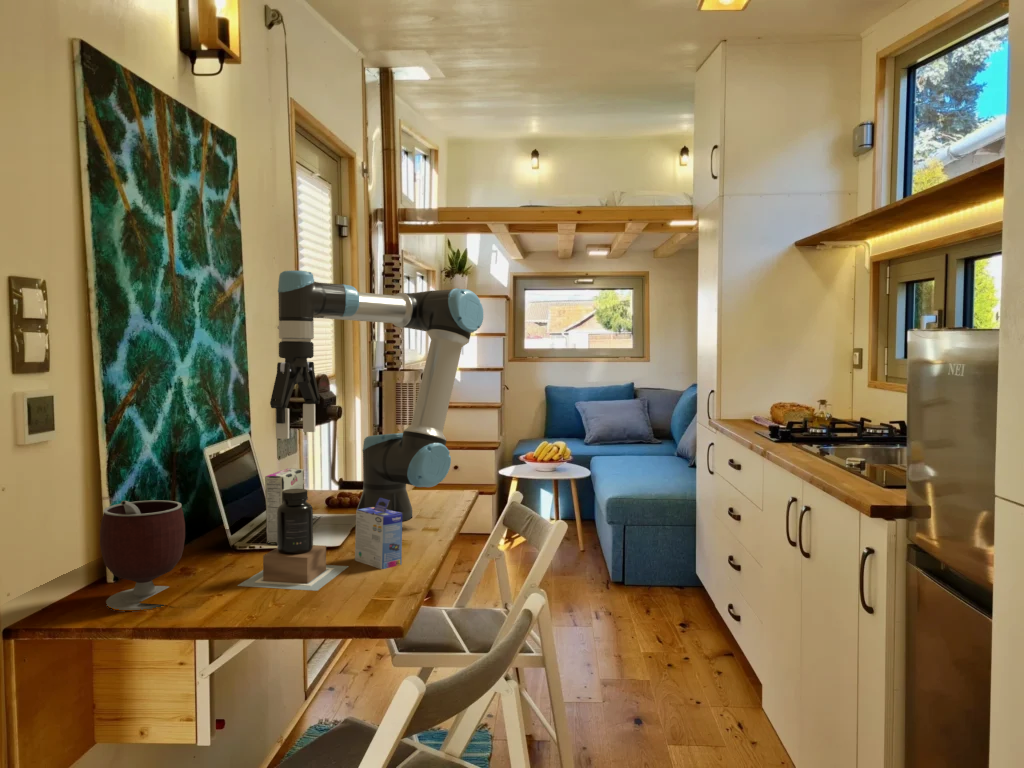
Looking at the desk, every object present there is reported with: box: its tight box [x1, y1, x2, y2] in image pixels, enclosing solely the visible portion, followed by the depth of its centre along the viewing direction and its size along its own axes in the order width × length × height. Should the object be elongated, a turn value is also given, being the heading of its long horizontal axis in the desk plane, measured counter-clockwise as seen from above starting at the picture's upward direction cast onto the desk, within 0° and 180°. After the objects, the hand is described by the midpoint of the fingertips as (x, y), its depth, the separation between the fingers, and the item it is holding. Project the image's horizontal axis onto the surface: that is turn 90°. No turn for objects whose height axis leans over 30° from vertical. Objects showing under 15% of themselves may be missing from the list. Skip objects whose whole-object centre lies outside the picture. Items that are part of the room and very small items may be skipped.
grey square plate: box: [236, 564, 349, 592], centre depth 148 cm, size 16×16×1 cm
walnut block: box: [262, 544, 327, 584], centre depth 148 cm, size 9×9×5 cm
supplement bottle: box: [276, 488, 314, 555], centre depth 148 cm, size 7×7×12 cm
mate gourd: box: [99, 499, 186, 610], centre depth 136 cm, size 16×14×20 cm
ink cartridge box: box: [354, 498, 403, 570], centre depth 158 cm, size 10×6×14 cm, turn 47°
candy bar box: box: [264, 467, 305, 542], centre depth 181 cm, size 11×5×16 cm, turn 170°
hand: (296, 435), depth 168 cm, fingers open, 13 cm apart
